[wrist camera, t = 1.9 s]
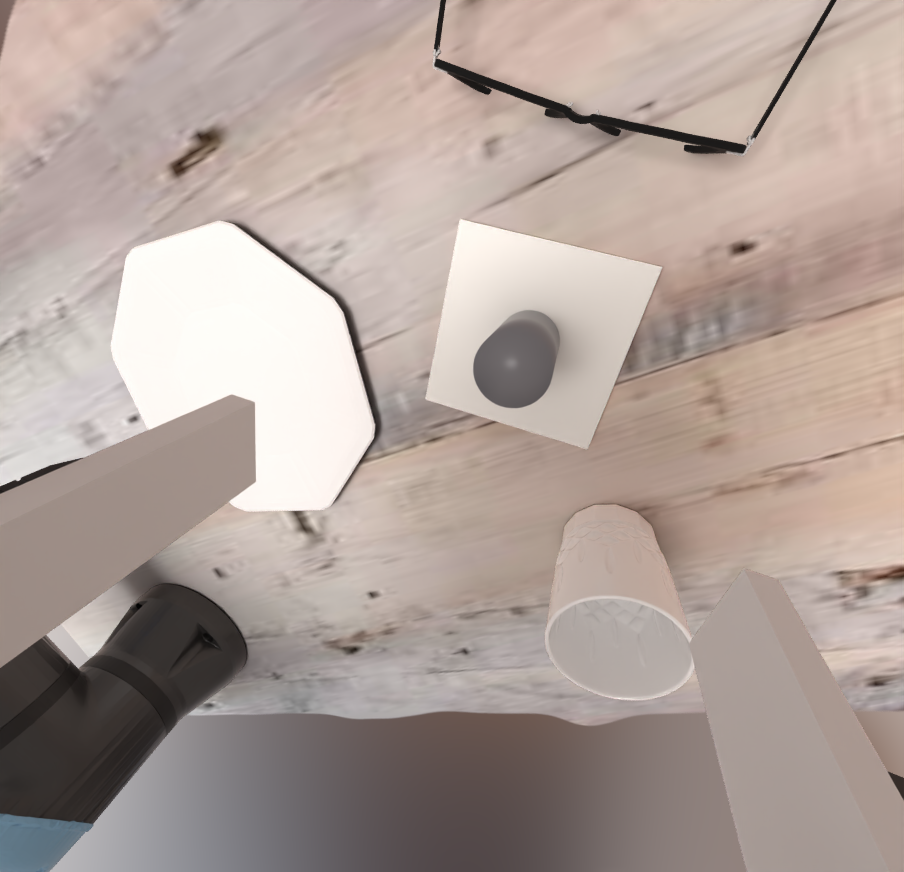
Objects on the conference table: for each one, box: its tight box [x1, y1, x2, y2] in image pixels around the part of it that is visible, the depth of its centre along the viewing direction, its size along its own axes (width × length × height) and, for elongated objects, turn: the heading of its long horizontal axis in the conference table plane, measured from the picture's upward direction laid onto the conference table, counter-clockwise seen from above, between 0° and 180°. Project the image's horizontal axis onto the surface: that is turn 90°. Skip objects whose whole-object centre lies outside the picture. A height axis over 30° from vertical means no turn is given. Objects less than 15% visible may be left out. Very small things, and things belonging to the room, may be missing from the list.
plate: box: [111, 221, 376, 512], centre depth 36 cm, size 24×24×2 cm
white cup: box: [544, 504, 695, 701], centre depth 28 cm, size 8×8×10 cm
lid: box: [425, 219, 662, 450], centre depth 25 cm, size 12×12×8 cm
